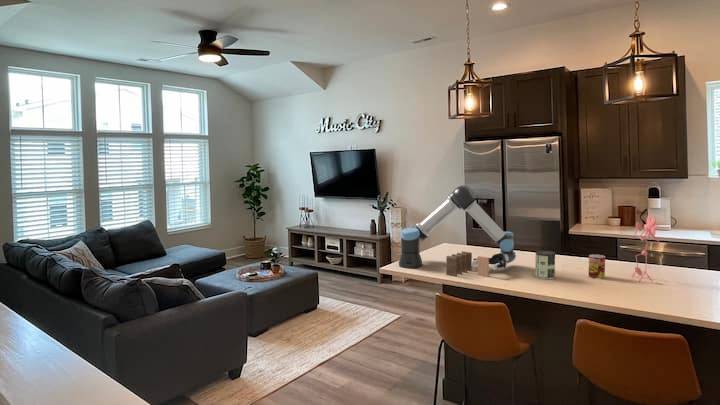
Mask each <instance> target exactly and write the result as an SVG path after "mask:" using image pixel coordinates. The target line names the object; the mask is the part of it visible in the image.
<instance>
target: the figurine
mask: <svg viewBox="0 0 720 405" xmlns="http://www.w3.org/2000/svg"><path fill="white" fill-rule="evenodd" d="M656 222H657V221H656V218H655V216H654V215H653V216H650V215H648V216H647V218H646V223H645V224H644V225H643V226H642V224H641V223H640V222H638V221H637V222H636V223H635V231H634V237H638V238H640V240H641V242H644V241H645V242H646V246H645V249H643V250H642V251H641V253H640V254H639V253H638V254H637V255H635V259H636V266H635V268H634V273H633V274H632V275H631V278H633V277H634V276H635V275H636V274H637V275H638V276H639V277H640V276H641V277H640V279H638V282H639V281H640V282H641V280H642V279H643V277H644V276H645V275H647V276H646V277H647V278H648V279H649V280H650V281H651V283H654V282H653V280H652V278H651V276H650V275H649V274H648V273H647V267H645V270H643V271H642V269H641V268H640V267H639V264H638V259H637V257H638V256H641V255H642V256H645V265H648V264H647V260H648V259H647V258H648V257H647V256H648V251H647V248H648V246H649V240H647V239H649V238H651V239H654V240H656V241H657V242H658V243H660V240H659V239H658V238H657V237H656V236H655V235H656V230H658V228H659V227H658V225H657V223H656ZM643 228H644V229H643ZM637 230H638V231H639V232H641V234H640V235H637ZM644 233H645V234H644ZM642 235H643V237H642ZM645 238H647V239H645Z"/></svg>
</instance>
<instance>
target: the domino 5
mask: <svg viewBox="0 0 720 405" xmlns="http://www.w3.org/2000/svg"><path fill="white" fill-rule="evenodd" d="M477 258H478V264H477V276H481V277H486V278H488V277H489V276H490V275H489V272H490V270H489V268H490V264H489V258H490V257H489V256H483V255H482V256H481V255H478V256H477Z"/></svg>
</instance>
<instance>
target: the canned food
mask: <svg viewBox="0 0 720 405" xmlns="http://www.w3.org/2000/svg"><path fill="white" fill-rule="evenodd" d="M605 270H606V256H605V255H602V254H589V255H588V277H589V278H590V277H591V278H592V279H595V278H598V280H600V279H599V278H604V279H605V276H606V274H605V273H606V271H605ZM591 278H590V279H591Z"/></svg>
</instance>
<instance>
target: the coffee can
mask: <svg viewBox="0 0 720 405" xmlns="http://www.w3.org/2000/svg"><path fill="white" fill-rule="evenodd" d="M534 272H535V274H534V276H535V278H537V279H542V280H554V279H556V277H555V276H556V275H555V274H556V252H554V251H551V250H536V251H535V271H534Z"/></svg>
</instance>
